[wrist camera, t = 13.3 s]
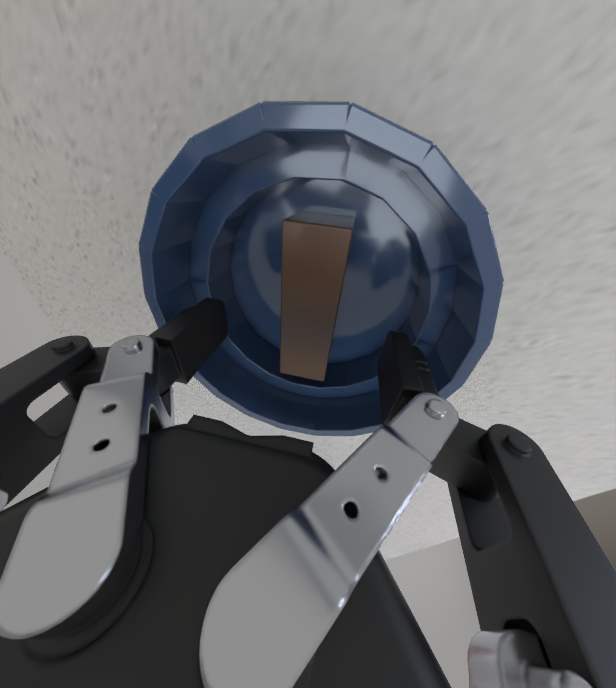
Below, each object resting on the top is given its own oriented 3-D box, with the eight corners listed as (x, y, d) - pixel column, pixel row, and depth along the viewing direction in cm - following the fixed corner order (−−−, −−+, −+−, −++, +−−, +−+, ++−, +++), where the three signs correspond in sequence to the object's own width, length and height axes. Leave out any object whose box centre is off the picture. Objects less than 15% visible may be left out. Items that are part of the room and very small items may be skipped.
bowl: (183, 293, 18) (117, 336, 13) (296, 33, 9) (222, -129, 4) (329, 397, 21) (319, 460, 16) (506, 281, 13) (592, 342, 8)
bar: (299, 210, 12) (281, 219, 9) (355, 217, 12) (353, 228, 9) (292, 343, 18) (279, 373, 15) (330, 350, 17) (324, 382, 15)
